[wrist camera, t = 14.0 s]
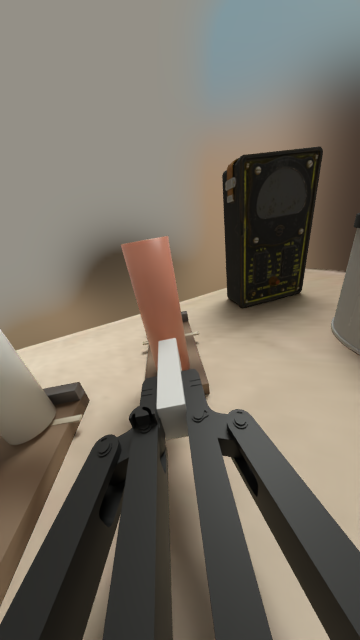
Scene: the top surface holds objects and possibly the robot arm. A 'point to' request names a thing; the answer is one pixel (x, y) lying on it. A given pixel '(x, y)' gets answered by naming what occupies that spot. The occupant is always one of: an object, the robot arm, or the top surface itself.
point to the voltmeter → (269, 222)
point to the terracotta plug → (156, 293)
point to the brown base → (192, 353)
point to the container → (350, 300)
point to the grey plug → (20, 398)
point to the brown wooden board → (33, 475)
